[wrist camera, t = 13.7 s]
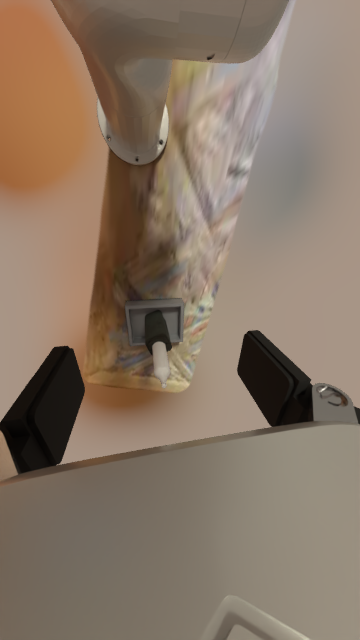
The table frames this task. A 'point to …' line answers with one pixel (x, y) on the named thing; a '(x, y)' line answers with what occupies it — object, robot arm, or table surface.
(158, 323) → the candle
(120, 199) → the table surface
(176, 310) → the tray
